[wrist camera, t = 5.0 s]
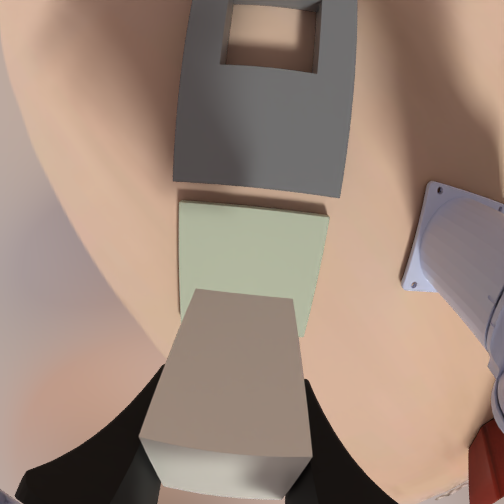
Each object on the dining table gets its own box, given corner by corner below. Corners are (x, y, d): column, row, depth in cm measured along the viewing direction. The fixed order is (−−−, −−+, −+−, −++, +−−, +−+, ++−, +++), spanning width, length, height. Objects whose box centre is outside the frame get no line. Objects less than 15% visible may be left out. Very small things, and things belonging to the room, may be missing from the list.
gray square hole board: (347, -46, 9) (354, -60, 8) (331, 191, 16) (339, 198, 15) (215, -59, 9) (210, -74, 8) (182, 176, 16) (172, 181, 15)
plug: (292, 298, 12) (312, 456, 5) (278, 366, 13) (281, 499, 7) (195, 288, 12) (138, 436, 5) (196, 357, 13) (163, 486, 7)
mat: (327, 214, 17) (329, 217, 17) (302, 331, 21) (303, 337, 20) (181, 200, 17) (179, 202, 17) (183, 319, 21) (181, 324, 20)
